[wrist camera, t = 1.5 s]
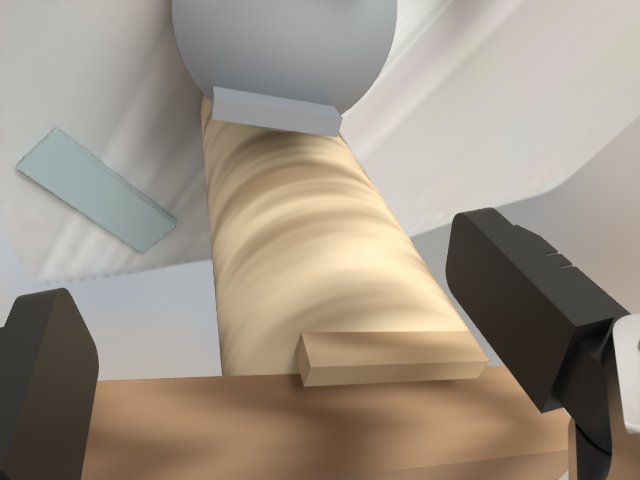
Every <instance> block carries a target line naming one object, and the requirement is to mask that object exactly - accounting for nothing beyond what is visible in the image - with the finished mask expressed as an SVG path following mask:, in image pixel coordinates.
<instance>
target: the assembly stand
mask: <svg viewBox="0 0 640 480" xmlns="http://www.w3.org/2000/svg"><path fill="white" fill-rule="evenodd" d="M396 20H397V0H172V22H173V30H174V35H175V39H176V43H177V47H178V50H179V53H180V55H181V58H182V61H183V63H184V65H185V67H186V69H187V71H188V73H189V75H190V76H191V78H192V80H193V81H194V82H195V84H196V85H197V87H198V88H199V89H200V91H201V92H202V93H203V94H204V95H205V96H206V97H207V98H208V99H209V101H210V102H211V105H210V109H211V116H212V119H213V120H220V121H226V122H233V123H240V124H246V125H249V126H252V127H255V128H258V129H263V130H268V131H278V132H290V131H296V132H303V133H309V134H316V135H323V136H330V137H337V136H338V133H339V129H340V125H341V122H342V117H341V114H343V113H344V112H346V111H347V110H348V109H349V108H351V107H352V106H353V105H354V104H355V103H357V102H358V101H359V100H360V99H361V98H362V97H363V96H364V94H365V93H366V92H367V91H368V90H369V88H370V87H371V86H372V84H373V83H374V81H375V80H376V78H377V77H378V75H379V74H380V72H381V70H382V68H383V66H384V64H385V62H386V59H387V57H388V54H389V51H390V49H391V45H392V42H393V38H394V34H395V27H396Z"/></svg>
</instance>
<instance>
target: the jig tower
mask: <svg viewBox="0 0 640 480" xmlns="http://www.w3.org/2000/svg"><path fill="white" fill-rule="evenodd" d="M210 105H211V102H210V101H209V99H208V98H207V97H206V96H205V95H204V94H203V96H202V99H201V105H200V119H201V131H202V143H203V155H204V167H205V178H206V190H207V202H208V214H209V226H210V238H211V250H212V261H213V273H214V284H215V297H216V309H217V321H218V332H219V343H220V356H221V367H222V376H241V375H245V376H249V375H275V374H301V377H302V381H303V385H304V387H307V386H327V385H348V384H368V383H389V382H409V381H430V380H450V379H471V378H478V377H479V375H480V374H481V372H482V371H483V369H484V368H485V366H486V364H487V363H488V359H487V358H486V356H485V354H484V353H483V351H482V350H481V348H480V347H479V345H478V344H477V342H476V341H475V339H474V337H473V336H472V334H471V333H470V331H469V330H468V328H467V326H466V325H465V324H464V322H463V320H462V319H461V317H460V316H459V314H458V313H457V311H456V310H455V308H454V307H453V305H452V304H451V302H450V301H449V299H448V298H447V296H446V295H445V293H444V291H443V290H442V288H441V287H440V285H439V284H438V282H437V281H436V279H435V278H434V276H433V275H432V273H431V272H430V270H429V269H428V267H427V266H426V264H425V262H424V261H423V259H422V258H421V256H420V255H419V253H418V252H417V250H416V249H415V247H414V246H413V244H412V243H411V241H410V240H409V238H408V236H407V235H406V233H405V232H404V230H403V229H402V227H401V226H400V224H399V223H398V221H397V220H396V218H395V217H394V215H393V214H392V212H391V211H390V209H389V207H388V206H387V204H386V203H385V201H384V200H383V198H382V197H381V195H380V194H379V192H378V191H377V189H376V188H375V186H374V185H373V183H372V182H371V180H370V178H369V177H368V175H367V174H366V172H365V171H364V169H363V168H362V166H361V165H360V163H359V162H358V160H357V159H356V157H355V156H354V154H353V153H352V151H351V150H350V148H349V146H348V145H347V143H346V142H345V140H344V139H343V137H342V136H341V134H340V133H338V136H337V137H330V136H323V135H316V134H309V133H303V132H296V131H290V132H278V131H268V130H263V129H258V128H255V127H252V126H249V125H246V124H240V123H233V122H226V121H220V120H213V119H212V116H211V109H210Z"/></svg>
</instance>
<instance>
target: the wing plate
mask: <svg viewBox="0 0 640 480" xmlns="http://www.w3.org/2000/svg"><path fill="white" fill-rule="evenodd" d="M16 168H17V169H18V170H20V171H21V172H23V173H24V174H26V175H27V176H29V177H30V178H31V179H33V180H34V181H36V182H37V183H39V184H40V185H42V186H43V187H45V188H46V189H48V190H49V191H51V192H52V193H53V194H55V195H56V196H58V197H59V198H61V199H62V200H64V201H65V202H67V203H68V204H70V205H71V206H73V207H74V208H75V209H77V210H78V211H80V212H81V213H83V214H84V215H86V216H87V217H89V218H90V219H92V220H93V221H95V222H96V223H97V224H99V225H100V226H102V227H103V228H105V229H106V230H108V231H109V232H111V233H112V234H114V235H115V236H117V237H118V238H119V239H121V240H122V241H124V242H125V243H127V244H128V245H130V246H131V247H133V248H134V249H136V250H137V251H139V252H140V253H141V254H143V253H144V252H145V251H146V250H148V249H149V248H150V247H151V246H153V245H154V244H155V243H156V242H158V241H159V240H160V239H161V238H163V237H164V236H165V235H166V234H168V233H169V232H170V231H171V230H172V229H174V228H175V227H176V220H175V219H174V218H173V217H171V216H170V215H169V214H168V213H166V212H165V211H164V210H163V209H161V208H160V207H159V206H157V205H156V204H155V203H154V202H152V201H151V200H150V199H148V198H147V197H146V196H145V195H143V194H142V193H141V192H139V191H138V190H137V189H136V188H134V187H133V186H132V185H130V184H129V183H128V182H127V181H125V180H124V179H123V178H122V177H120V176H119V175H118V174H116V173H115V172H114V171H113V170H111V169H110V168H109V167H107V166H106V165H105V164H104V163H102V162H101V161H100V160H98V159H97V158H96V157H95V156H93V155H92V154H91V153H90V152H88V151H87V150H86V149H84V148H83V147H82V146H81V145H79V144H78V143H77V142H75V141H74V140H73V139H72V138H70V137H69V136H68V135H66V134H65V133H64V132H63V131H61V130H60V129H59V128H57V127H56V128H54V129H53V130H52V131H51V132H50V133H49V134H48V135H47V136H46V137H45V138H44V139H43V140H42V141H41V142H39V143H38V144H37V145H36V146H35V147H34V148H33V149H32V150H31V151H30V152H29V153H28V154H27V155H26V156H24V157H23V158H22V159H21V160H20V161H19V163H18V164H17V166H16Z"/></svg>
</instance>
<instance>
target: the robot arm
mask: <svg viewBox="0 0 640 480" xmlns="http://www.w3.org/2000/svg"><path fill="white" fill-rule="evenodd" d="M446 279H447V283H448V286H449V289H450V291H451V293H452V294H453V296H454V297H455V298H456V300H457V301H458V303H459V304H460V305H461V307H462V308H463V309H464V311H465V312H466V313H467V315H468V316H469V317H470V319H471V320H472V321H473V323H474V324H475V325H476V327H477V328H478V329H479V331H480V332H481V333H482V335H483V336H484V337H485V339H486V340H487V342H488V343H489V344H490V346H491V347H492V348H493V350H494V351H495V352H496V353H497V355H498V356H499V358H500V359H501V360H502V361H503V363H504V364H505V366H506V367H507V368H508V370H509V371H510V372H511V374H512V375H513V376H514V378H515V379H516V380H517V382H518V383H519V384H520V386H521V387H522V388H523V390H524V391H525V392H526V394H527V395H528V397H529V398H530V399H531V401H532V402H533V403H534V405H535V406H536V407H537V409H538V410H539V411H540V413H541V414H542V413H546V412H549V411H553V410H556V409H560V408H563V407H564V408H565V409H566V410H567V412H568V413H569V414H570V416H571V418H570V421H569V423H568V466H569V480H640V314H630V313H629V312H628V311H627V310H625V309H624V308H623V307H622V306H621V305H619V303H617V302H616V301H615V300H614V299H613V298H612V297H610V296H609V295H608V294H607V293H606V292H605V291H604V290H602V289H601V288H600V287H599V286H598V285H596V284H595V283H594V282H593V281H592V280H591V279H589V278H588V277H587V276H586V275H585V274H584V273H583V272H581V271H580V270H579V269H578V268H577V267H573V266H572V263H571V262H570V261H569V260H567V259H566V258H565V257H564V256H563V255H562V254H558V252H557V250H556V249H555V248H553V247H552V246H551V245H550V244H549V243H548V242H547V241H545V240H544V239H543V238H542V237H541V236H539V235H537V234H535V233H533V232H531V231H529V230H526V229H524V228H522V227H520V226H518V225H514V226H513V225H512V224H511V223H510V222H509V221H508V220H506V219H505V218H504V217H503V216H502V215H501V214H500V213H499V212H498V211H496V210H495V209H493V208H490V207H489V208H483V209H478V210H473V211H468V212H462V213H458V214H456V215H455V217H454V219H453V222H452V228H451V235H450V242H449V248H448V255H447V262H446ZM98 372H99V362H98V355H97V350H96V346H95V343H94V341H93V339H92V337H91V335H90V333H89V331H88V329H87V327H86V324H85V322H84V321H83V318H82V316H81V314H80V312H79V310H78V308H77V306H76V304H75V302H74V300H73V298H72V296H71V294H70V293H69V291H68V290H67V289H65V288H59V289H53V290H48V291H43V292H37V293H33V294H27V295H22V296H19V297H18V298H17V299H16V300H15V302H14V304H13V307H12V309H11V311H10V314H9V316H8V318H7V321H6V323H5V326H4V327H1V328H0V480H81V475H82V469H83V463H84V457H85V451H86V445H87V439H88V433H89V427H90V421H91V415H92V409H93V403H94V397H95V391H96V385H97V378H98Z"/></svg>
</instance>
